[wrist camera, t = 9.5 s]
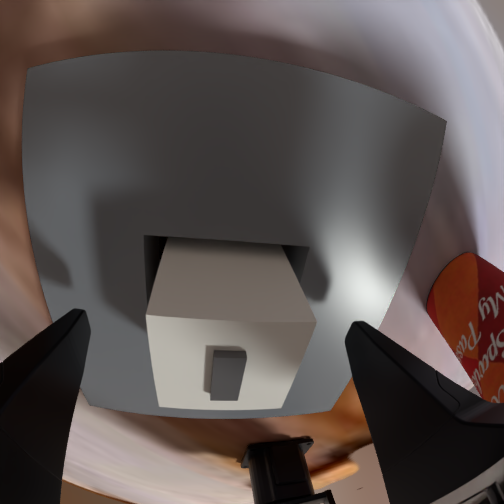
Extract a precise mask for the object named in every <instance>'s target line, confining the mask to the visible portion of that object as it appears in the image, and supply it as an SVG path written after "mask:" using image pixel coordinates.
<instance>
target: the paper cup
mask: <svg viewBox="0 0 504 504" xmlns="http://www.w3.org/2000/svg"><path fill="white" fill-rule="evenodd" d="M427 312H428V314H429V316H430V318H431V319H432V321H433V323H434V324H435V326H436V327H437V328H438V330H439V331H440V333H441V334H442V336H443V337H444V339H445V340H446V342H447V343H448V345H449V346H450V348H451V349H452V351H453V352H454V354H455V355H456V357H457V358H458V360H459V361H460V363H461V365H462V366H463V368H464V369H465V371H466V372H467V374H468V376H469V377H470V379H471V381H472V382H473V384H474V386H475V387H476V389H477V390H478V392H479V394H480V396H481V397H482V399H484V400H486V401H489V402H492V403H504V272H503V271H501V270H500V269H498V268H497V267H495V266H494V265H492V264H491V263H489V262H488V261H486V260H485V259H483V258H481V257H480V256H478V255H476V254H474V253H470V252H468V253H464V254H461V255H459V256H458V257H456V258H455V259H453V260H452V261H451V262H450V263H449V264H448V265H447V266H446V267H445V268H444V270H443V271H442V272H441V273H440V275H439V276H438V278H437V279H436V281H435V283H434V284H433V286H432V289H431V291H430V293H429V296H428V300H427Z"/></svg>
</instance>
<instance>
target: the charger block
mask: <svg viewBox="0 0 504 504" xmlns="http://www.w3.org/2000/svg"><path fill="white" fill-rule="evenodd" d="M146 323H147V332H148V340H149V348H150V355H151V362H152V369H153V375H154V382H155V387H156V393H157V398H158V404H159V407H168V408H181V409H199V410H258V409H277V408H281V407H282V405H283V403H284V401H285V399H286V396H287V394H288V392H289V390H290V387H291V385H292V383H293V381H294V378H295V376H296V374H297V371H298V369H299V366H300V364H301V362H302V359H303V357H304V354H305V352H306V349H307V347H308V344H309V342H310V339H311V337H312V334H313V332H314V329H315V326H316V324H317V320H316V318H315V316H314V314H313V312H312V310H311V307H310V305H309V303H308V301H307V299H306V297H305V295H304V292H303V290H302V288H301V286H300V284H299V282H298V280H297V278H296V275H295V273H294V271H293V269H292V267H291V265H290V263H289V261H288V259H287V257H286V255H285V253H284V250H283V248H282V246H281V244H269V243H255V242H242V241H228V240H214V239H199V238H185V237H170V236H168V238H167V242H166V245H165V248H164V251H163V254H162V258H161V261H160V264H159V268H158V271H157V275H156V278H155V282H154V285H153V289H152V293H151V296H150V300H149V304H148V308H147V312H146Z"/></svg>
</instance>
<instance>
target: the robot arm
mask: <svg viewBox="0 0 504 504" xmlns="http://www.w3.org/2000/svg"><path fill="white" fill-rule="evenodd" d="M90 336H91V328H90V324H89V320H88V316H87V313H86V311H85V310H84V309H79V308H73V309H72V310H70V311H69V312H68V313H66V314H65V315H63V316H62V317H61V318H59V319H58V320H56V321H55V322H54V323H52V324H51V325H50V326H48V327H47V328H45V329H44V330H43V331H41V332H40V333H39V334H37V335H36V336H35V337H33V338H32V339H31V340H29V341H28V342H27V343H25V344H24V345H23V346H22V347H20V348H19V349H18V350H16V351H15V352H14V353H13V354H11V355H10V356H9V357H7V358H6V359H5V360H4V361H3V362H1V363H0V504H60V495H61V485H62V481H61V480H62V476H63V468H64V461H65V455H66V449H67V443H68V437H69V432H70V427H71V422H72V418H73V413H74V409H75V405H76V401H77V397H78V393H79V389H80V385H81V381H82V378H83V374H84V368H85V363H86V357H87V351H88V346H89V341H90ZM345 347H346V352H347V356H348V360H349V364H350V369H351V373H352V377H353V381H354V384H355V387H356V390H357V393H358V396H359V399H360V402H361V405H362V408H363V411H364V414H365V418H366V421H367V424H368V427H369V430H370V434H371V437H372V440H373V443H374V447H375V450H376V454H377V457H378V460H379V464H380V468H381V471H382V474H383V479H384V482H385V487H386V490H387V494H388V498H389V502H390V504H504V403H492V402H489V401H486V400H484V399H482V398H480V397H479V396H477V395H475V394H473V393H472V392H470V391H468V390H466V389H465V388H463V387H461V386H460V385H458V384H456V383H455V382H453V381H452V380H450V379H448V378H447V377H445V376H444V375H442V374H441V373H440V372H438V371H437V370H436V371H435V369H434V368H432V367H431V366H429V365H428V364H426V363H425V362H424V361H422V360H421V359H419V358H418V357H416V356H415V355H413V354H412V353H410V352H409V351H407V350H406V349H405V348H403V347H402V346H400V345H399V344H397V343H396V342H394V341H393V340H391V339H390V338H388V337H387V336H386V335H384V334H383V333H381V332H380V331H378V330H377V329H375V328H374V327H372V326H371V325H369V324H368V323H366V322H365V321H354V322H352V324H351V326H350V328H349V330H348V332H347V335H346V337H345ZM313 443H314V441H313V439H304V440H297V441H289V442H280V443H269V444H255V445H249V446H247V448H246V451H245V454H244V456H243V459H242V462H241V468H249V472H250V479H251V485H252V491H253V498H254V504H320V503H324V504H336V503H335V501H334V498H333V495H332V493H331V490H326V491H324V492H322V493H318V494H315V493H314V489H313V485H312V482H311V478H310V474H309V471H308V467H307V463H306V459H305V456H304V454H305V453H306V452H307V451H308V450H309V448H310V447H311V446H312V445H313Z"/></svg>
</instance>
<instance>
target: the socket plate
mask: <svg viewBox="0 0 504 504" xmlns="http://www.w3.org/2000/svg"><path fill="white" fill-rule="evenodd" d="M446 123H447V121H445V120H444V119H442V118H440V117H438V116H436V115H434V114H432V113H430V112H428V111H426V110H424V109H422V108H420V107H417V106H415V105H413V104H411V103H409V102H406V101H404V100H402V99H399V98H397V97H395V96H392V95H390V94H387V93H385V92H382V91H380V90H377V89H374V88H372V87H369V86H366V85H363V84H360V83H357V82H354V81H351V80H348V79H345V78H342V77H339V76H335V75H332V74H328V73H325V72H321V71H317V70H314V69H310V68H306V67H301V66H297V65H293V64H288V63H283V62H278V61H273V60H267V59H261V58H255V57H248V56H241V55H233V54H224V53H213V52H198V51H132V52H118V53H107V54H98V55H91V56H84V57H77V58H72V59H66V60H61V61H56V62H51V63H47V64H43V65H39V66H35V67H31V68H28V70H27V76H26V84H25V93H24V104H23V119H22V167H23V183H24V194H25V204H26V212H27V219H28V225H29V232H30V237H31V243H32V248H33V253H34V257H35V262H36V266H37V270H38V274H39V278H40V282H41V286H42V289H43V293H44V296H45V300H46V303H47V306H48V309H49V312H50V315H51V318H52V321H53V323H54V322H55V321H56V320H58V319H59V318H61V317H62V316H63V315H65V314H66V313H68V312H69V311H70V310H72V309H73V308H79V309H84V310H85V311H86V313H87V316H88V320H89V324H90V328H91V336H90V341H89V346H88V351H87V357H86V363H85V368H84V374H83V378H82V381H81V385H80V388H81V390H82V392H83V394H84V396H85V398H86V399H87V401H88V403H89V405H91V406H95V407H101V408H106V409H112V410H118V411H124V412H131V413H138V414H147V415H156V416H167V417H181V418H202V419H244V418H266V417H280V416H291V415H301V414H309V413H317V412H324V411H330V410H331V409H332V407H333V406H334V404H335V402H336V401H337V399H338V398H339V396H340V395H341V393H342V392H343V390H344V388H345V387H346V385H347V384H348V382H349V380H350V379H351V377H352V373H351V369H350V364H349V360H348V356H347V352H346V347H345V337H346V335H347V332H348V330H349V328H350V326H351V324H352V322H354V321H365V322H366V323H368V324H369V325H371V326H372V327H374V328H375V329H377V330H378V328H379V326H380V324H381V322H382V320H383V318H384V316H385V313H386V311H387V309H388V307H389V305H390V303H391V301H392V298H393V296H394V294H395V292H396V289H397V287H398V285H399V282H400V280H401V278H402V275H403V273H404V270H405V268H406V265H407V263H408V260H409V258H410V255H411V252H412V250H413V247H414V244H415V241H416V239H417V236H418V233H419V230H420V227H421V224H422V221H423V218H424V215H425V211H426V208H427V205H428V201H429V198H430V194H431V191H432V187H433V183H434V180H435V176H436V172H437V168H438V163H439V159H440V154H441V150H442V145H443V140H444V135H445V129H446ZM159 236H170V237H185V238H199V239H214V240H228V241H242V242H255V243H269V244H281V246H282V248H283V250H284V253H285V255H286V257H287V259H288V261H289V263H290V265H291V267H292V269H293V271H294V273H295V275H296V278H297V280H298V282H299V284H300V286H301V288H302V290H303V292H304V295H305V297H306V299H307V301H308V303H309V305H310V307H311V310H312V312H313V314H314V316H315V318H316V320H317V324H316V326H315V329H314V332H313V334H312V337H311V339H310V342H309V344H308V347H307V349H306V352H305V354H304V357H303V359H302V362H301V364H300V366H299V369H298V371H297V374H296V376H295V378H294V381H293V383H292V385H291V387H290V390H289V392H288V394H287V396H286V399H285V401H284V403H283V405H282V407H281V408H277V409H258V410H199V409H181V408H168V407H159V404H158V398H157V393H156V387H155V382H154V375H153V369H152V362H151V355H150V348H149V340H148V332H147V323H146V312H147V308H148V304H149V300H150V296H151V293H152V289H153V285H154V282H155V278H156V275H157V271H158V268H159V264H160V261H159Z"/></svg>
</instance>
